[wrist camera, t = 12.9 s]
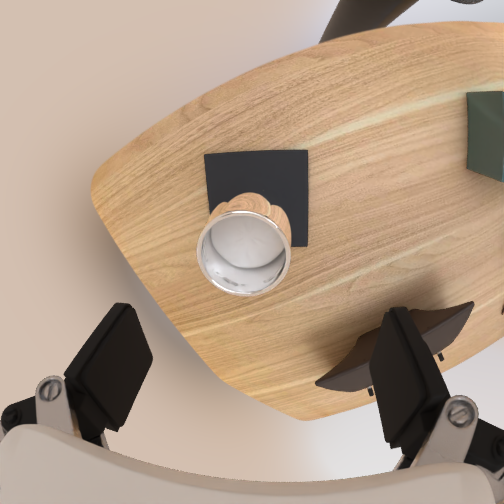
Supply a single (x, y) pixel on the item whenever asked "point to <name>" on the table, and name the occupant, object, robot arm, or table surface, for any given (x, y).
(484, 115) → the holder
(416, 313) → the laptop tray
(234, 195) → the beer glass
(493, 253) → the table surface
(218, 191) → the mat
